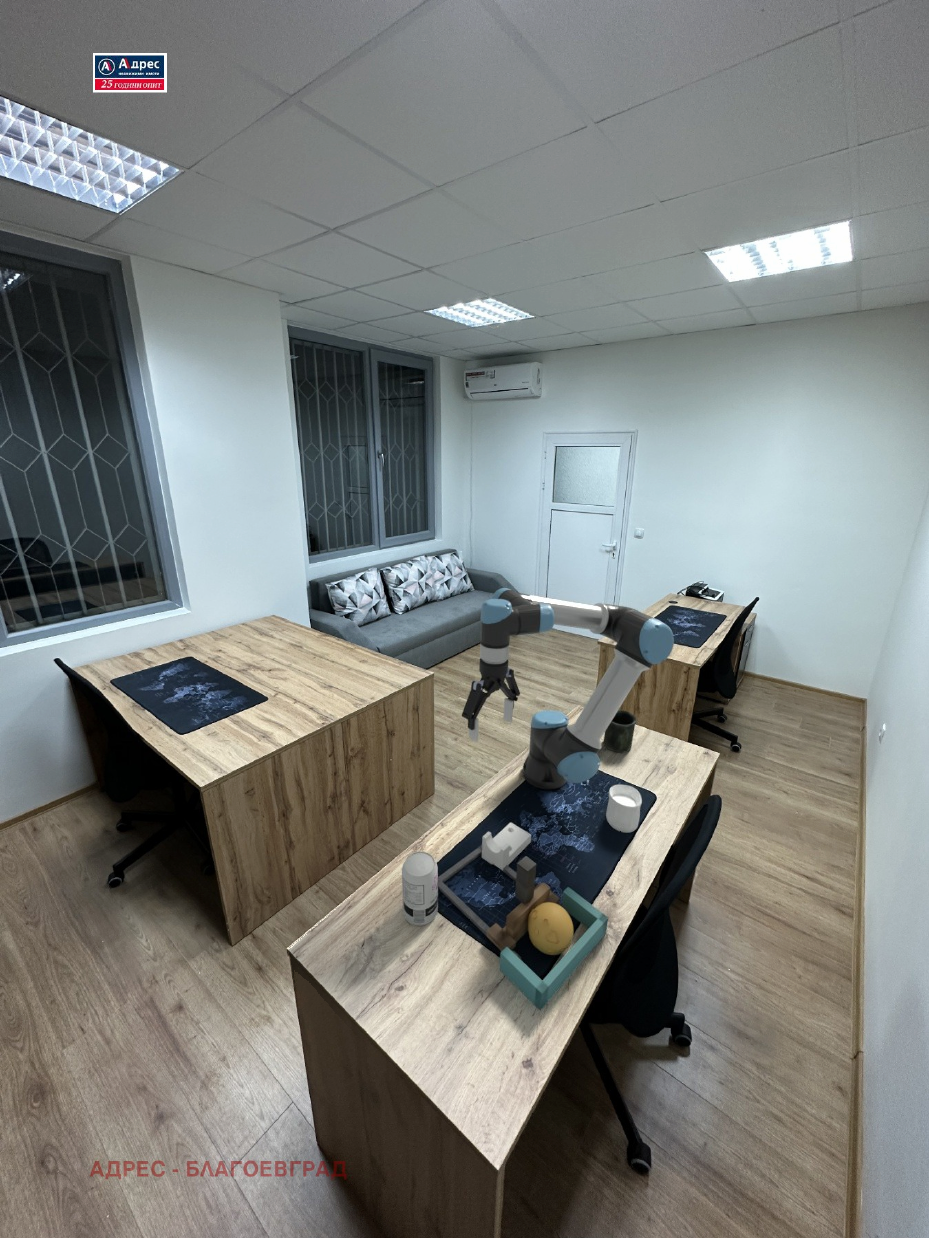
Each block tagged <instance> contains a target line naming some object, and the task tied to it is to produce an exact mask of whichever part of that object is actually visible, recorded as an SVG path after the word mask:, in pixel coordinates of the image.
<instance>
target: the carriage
mask: <svg viewBox="0 0 929 1238" xmlns="http://www.w3.org/2000/svg"><path fill="white" fill-rule="evenodd" d="M536 872H537V863H536V862H534V861H533V860H532V859H531V858H530V857H528V856H527V855H525V856H524V857H522V859H521V860H519V861H518V862H517V864H516V873H517V874H516V882H515V890H514V892H515V893H514V897H515V898H516V899H517V900H518V901H519V902H520V903H519V904H518V905H517V906H516V907H515V908H513V910H511V911H510V913H508V914H507V915H506V920H505V921H506V923H505V926H504V927H503V928H502V927H501V926H500V925H499V924H498V923H497V922H495V923H494V924H493V925H491V926H490V929H489V930H487V935H485V937H487V938H488V939H489V941H490V942H491V943H493V944H494V945H495V947H497V949H499V951H500V952H502V951H503V950H504V949H505V948H506V947H508V948H509V949H510V950H511V951H512V950H514V949H515V948H516V945H517V942H518V941H519V940H521V938H523V936H524V935H525V934H526V933H527V932H529V930H528V922H529V921H528V917H529V914H530V912H531V911H532V909H535V908H536V907H537V906H538V905H540V904H542V903H547V902H551V903H555V904H558V905H560V900H561V899H560V897H559V896H557V895H556V894H555V893H554V892H552V891H551V886H549V885H548V884H546V883H545V882H542V883H541V882H539V883H538V884H537V885H536V886H535V882H536V874H537V873H536Z"/></svg>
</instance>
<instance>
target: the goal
mask: <svg viewBox="0 0 929 1238" xmlns="http://www.w3.org/2000/svg"><path fill="white" fill-rule="evenodd" d="M560 906H561V907H562V908H564V909H565V910H566V912H567V913H568V914H569V915H570V916H572V918H574V919H575V920H576V921H578V922H579V923H580V924H581V925H583V926H584V927H585V928H586V929H587V930H586V931H585V932H584V934H583V935H582V936H581V937H580V938H579V939H578V940H577V941H576V942H575V944H574V945H573V946H572V947H571V948H570V949H569V950H568V951H567V952H566V953H565V955H563V957H562V958H561V959H560V961H559V962H558V963H556V964H555V966H554V967H553V968H552V969H551V971H549V973H547V975H546V976H545V977H544V978H543V980H542V979H541V978H540V977H539V976H538V975H537V974H536V973H535V972H534V971H533V970H532V969H531V968H530V967H529V966H528V965H527V964H526V963H524V961H523V960H522V959H521V960H520V959H519V958H518V957H517V956H516V955H515V954H514V953H513V952H512V951H511V950H510V949H509V948H508V947H506V948H505V949H504V950H503V951H500V955H499V971H501V972H502V973H503V975H504V976H506V978H507V979H508V980H509V981H511V983H512V984H513V985H514V986H515V987H516V988H517V989H519V991H520V992H521V993H522V994H523V995H524V996H525V997H526V998H527V999H528V1000H529V1002H530V1003H532V1004H533V1006H535V1007H536V1008H537V1009H538V1010H539V1011H540V1012H541V1011H542V1009H544V1008H545V1006H546V1005H547V1004H548V1002H550V1000H551V999H552V998H553V996H554V995H555V994H556V993H557V992H558V991H559V990H560V988H562V986H563V985H564V983H566V981H567V980H568V979H569V978H570V977H571V975H572V974H573V973H574V972H575V971H576V969H577V968H578V967H579V966H580V964H582V962H583V961H584V960H585V959H586V958H587V956H589V954H590V953H591V952H592V951H593V949H594V948H595V947H596V946H597V944H598V943H599V942H601V940H602V939H603V938H604V936H606V934H607V930H608V929H607V928H608V923H609V916H607V915H606V914H604V913H603V912H602V911H600V910H599V909H598V908H597V907H595V906H594V905H593V904H591V903H590V902H588V900H586V899H584V898H583V897H582V896H581V895H580V894H578V893H577V892H576V891H574V890H573V889H572V888H570V887H569V886H568V887H567V888H565V889H564V890H563V891H562V898H561V905H560Z"/></svg>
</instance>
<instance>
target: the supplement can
mask: <svg viewBox="0 0 929 1238" xmlns="http://www.w3.org/2000/svg"><path fill="white" fill-rule="evenodd" d="M438 869H439V868H438V864H437V861H435V858H434V856H432V854H430V853H429V852H426V851H415V852H412V853H410V854H409V855H408V856H407V857H406V859H405V860H404V862H403V864H402V867H401V889H402V891H401V892H402V911H403V917H404V918H405V921H407V922H408V923H409V924H411V925H413V926H417V927H418V926H425V925H428V924H430V923H431V922H432V921H433V920H434V919H435V918H436V916H437V915H438V909H439V889H438V877H439V876H438V875H439V873H438Z"/></svg>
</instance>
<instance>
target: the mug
mask: <svg viewBox="0 0 929 1238" xmlns="http://www.w3.org/2000/svg"><path fill="white" fill-rule="evenodd" d="M637 722H638V719H637V717H636V715H635V714H633V713H631V712H629V711H627V710H625V709H623V710H622V709H619V710H618V711H617V713H616V714H615V716H614V718H613V719H612V721H611V723H610V724H609V726H608V727H607V729H606V731H605V732H604V734H603V735H604V736H603V744H604V746H605V747H606V748H607V749H608V750H610V751H612V752H616V753H626V752H628V751H630V750H631V749H632V746H633V739H634V734H635V733H634V732H635V726H636V723H637Z"/></svg>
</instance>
